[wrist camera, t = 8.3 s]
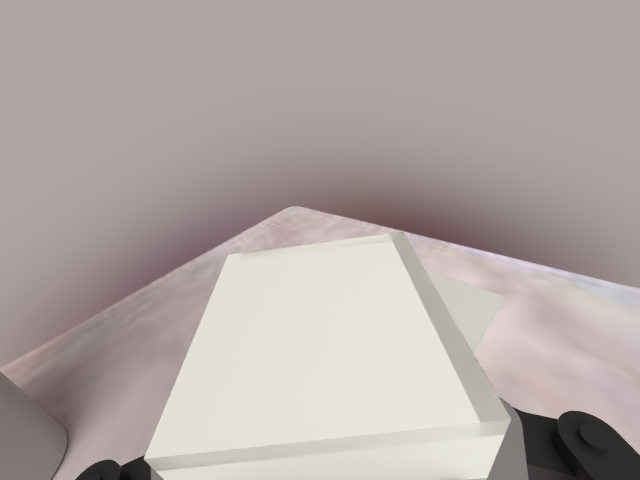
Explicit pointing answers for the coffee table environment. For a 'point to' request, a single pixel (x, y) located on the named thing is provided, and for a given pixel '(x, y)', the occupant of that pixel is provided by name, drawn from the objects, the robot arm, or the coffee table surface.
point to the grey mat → (468, 307)
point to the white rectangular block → (328, 374)
